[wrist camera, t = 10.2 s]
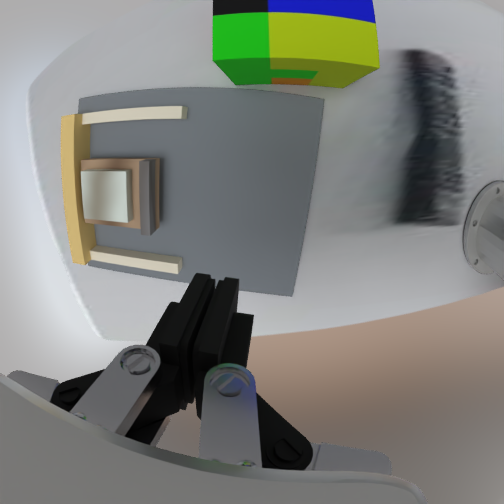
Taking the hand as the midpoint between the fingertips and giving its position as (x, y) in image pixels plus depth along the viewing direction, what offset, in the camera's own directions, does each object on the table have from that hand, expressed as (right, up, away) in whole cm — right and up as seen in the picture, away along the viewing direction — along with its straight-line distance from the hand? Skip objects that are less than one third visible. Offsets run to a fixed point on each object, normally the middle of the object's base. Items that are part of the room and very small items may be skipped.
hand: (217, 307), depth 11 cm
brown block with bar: (-12, +9, +16) cm, 22 cm away
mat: (-6, +8, +16) cm, 19 cm away
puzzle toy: (+5, +22, +9) cm, 24 cm away
